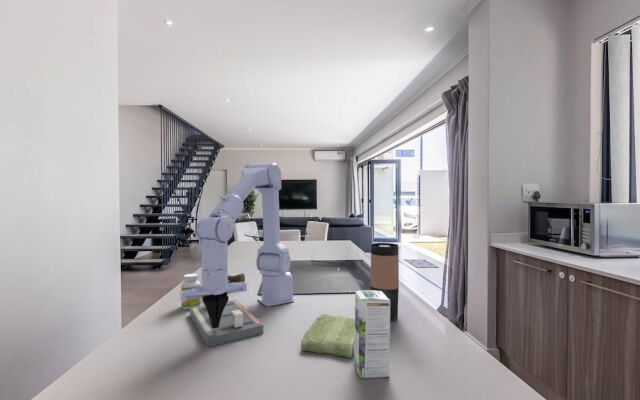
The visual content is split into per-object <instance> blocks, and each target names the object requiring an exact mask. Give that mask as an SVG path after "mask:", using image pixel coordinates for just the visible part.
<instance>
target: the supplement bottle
mask: <svg viewBox="0 0 640 400" xmlns="http://www.w3.org/2000/svg"><path fill="white" fill-rule="evenodd" d="M201 286H202V283H201V281H200V280H199V274H198V273H187V274H184V275H183V282H182V283H181V287H180V288H181V290H180V291H184V290H189V289H193V288H197V287H201ZM201 300H202V298H197V299H191V300H187V301H185V302H181V308H182V309H183V310H190V308H192V307H198V306H202V305H201V304H202V303H201V302H202V301H201Z"/></svg>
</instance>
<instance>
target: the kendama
mask: <svg viewBox="0 0 640 400" xmlns="http://www.w3.org/2000/svg"><path fill="white" fill-rule="evenodd" d="M236 282H245V283H246V276H245V274H244V273H243V272H242V273H238V274H236V275H228V283H236Z"/></svg>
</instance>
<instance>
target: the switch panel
mask: <svg viewBox="0 0 640 400" xmlns="http://www.w3.org/2000/svg"><path fill="white" fill-rule="evenodd" d="M234 310H240V311H241V312H242V313H243V326H240V327H236V328H235V327H234V326H233V325H232V324H231V311H234ZM189 316H190V318H191V319H192V322H193V323H194V325H195V327H196V329H197V330H198V332H199V334H200V336H201V338H202V340H203V341H204V343H205V345H206V347H207V348H211V347H213V346H219V345H221V344H225V343H230V342H234V341H238V340H243V339H246V338H249V337H250V338H251V337H253V336H258V335H262V334H264V324H263V323H262V322H261V321H260V320H259V319H257V318H256V317H255V316H254V315H253V314H252V313H251V312H250V311H248V310H247V308H245V306H243V305H242V304H241V303H240V302H239V300H237V299H233V300H228V302H227V304H226V306H225V308H224V310H223V313H222V317H221V319H220V323H219V327H218V328H214V329H213V328H212V327H211V323H210V318H209V314H208V311H207V309H206V308H205V307H204V304H203V305H200V306H198V307H192V308H190V309H189Z"/></svg>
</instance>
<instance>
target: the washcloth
mask: <svg viewBox="0 0 640 400" xmlns="http://www.w3.org/2000/svg"><path fill="white" fill-rule="evenodd" d="M354 336H355V318H351V317H347V316H342V315H336V316H335V315H334V316H333V315H329V314H327V313H323V314H321V315H319V316H318V317H317V318H316V319H315V321H314V322H313V323H312V325H310V327H309V328H308V330H306V332H305V333H304V335H303V338H302V339H301V342H300V343H301V344H300V348H301V351H304V352H305V351H306V352H314V353H317V354H322V355H323V354H329V355H334V356H336V357H338V356H339V357H342V358H343V357H344V358H347V359H352V358H353V359H354Z"/></svg>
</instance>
